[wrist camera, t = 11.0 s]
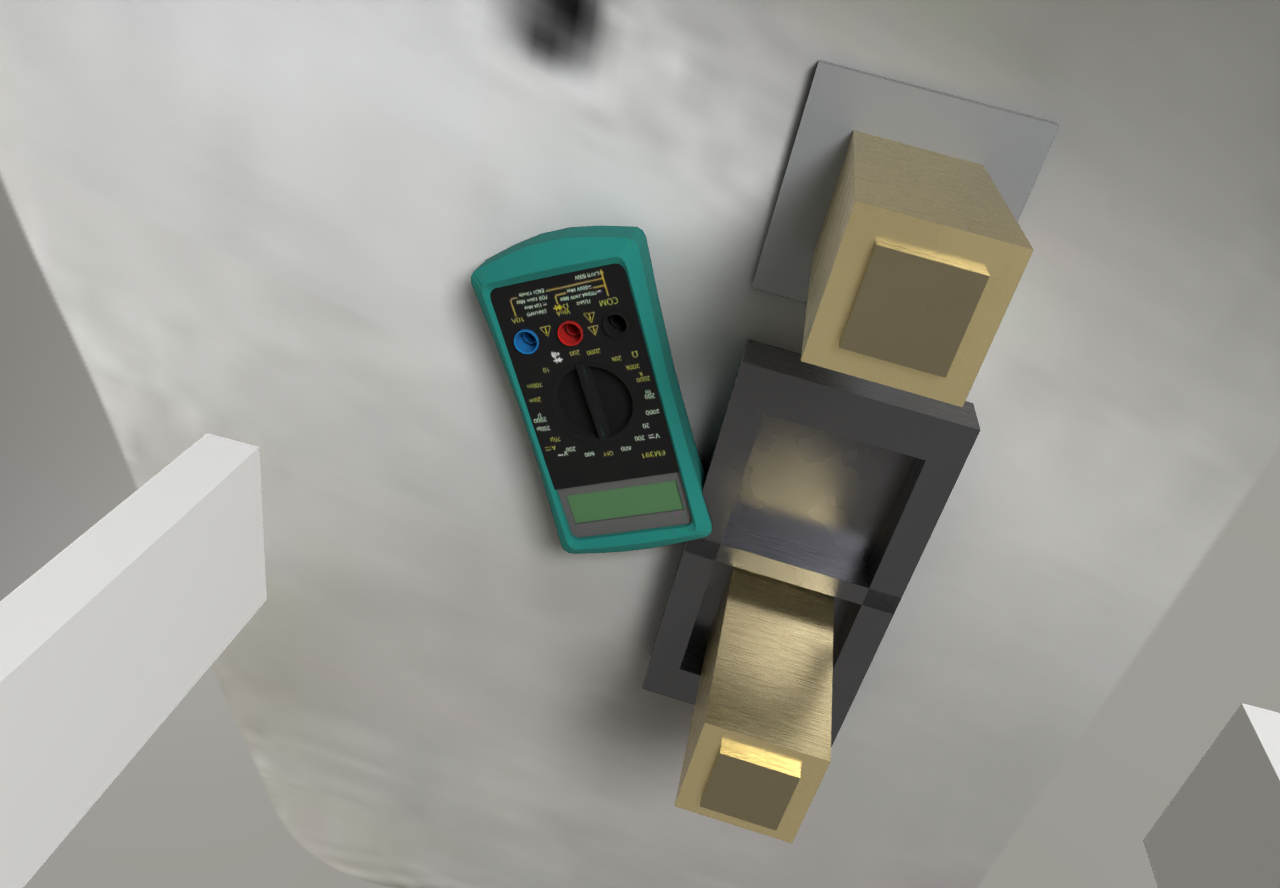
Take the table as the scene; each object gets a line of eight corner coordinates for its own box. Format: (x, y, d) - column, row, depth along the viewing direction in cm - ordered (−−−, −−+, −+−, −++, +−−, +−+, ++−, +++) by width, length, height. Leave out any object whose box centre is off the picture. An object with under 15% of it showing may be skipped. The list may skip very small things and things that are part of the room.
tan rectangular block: (853, 130, 35) (855, 204, 25) (983, 164, 35) (1036, 254, 25) (812, 254, 38) (800, 366, 28) (933, 288, 38) (963, 413, 28)
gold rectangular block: (734, 558, 46) (703, 730, 36) (834, 589, 45) (830, 769, 36) (708, 634, 48) (673, 813, 38) (803, 663, 48) (791, 851, 38)
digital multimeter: (642, 208, 38) (629, 227, 36) (720, 513, 45) (713, 548, 42) (480, 244, 40) (457, 264, 38) (576, 531, 47) (561, 565, 44)
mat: (818, 60, 35) (818, 61, 34) (1056, 123, 34) (1059, 125, 34) (752, 282, 39) (751, 287, 39) (961, 341, 39) (962, 347, 38)
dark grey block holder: (747, 339, 41) (742, 361, 39) (973, 403, 40) (980, 430, 38) (651, 656, 50) (642, 688, 48) (832, 711, 50) (831, 747, 47)
